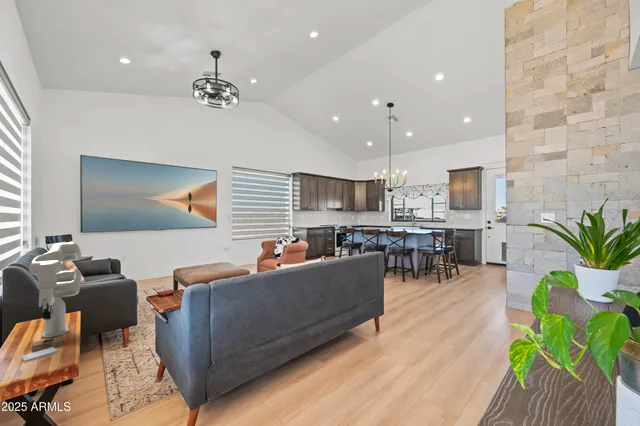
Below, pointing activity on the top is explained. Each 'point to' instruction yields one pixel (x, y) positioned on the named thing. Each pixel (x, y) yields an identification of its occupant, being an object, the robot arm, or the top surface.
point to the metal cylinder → (51, 312)
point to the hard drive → (38, 354)
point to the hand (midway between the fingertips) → (47, 317)
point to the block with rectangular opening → (47, 343)
